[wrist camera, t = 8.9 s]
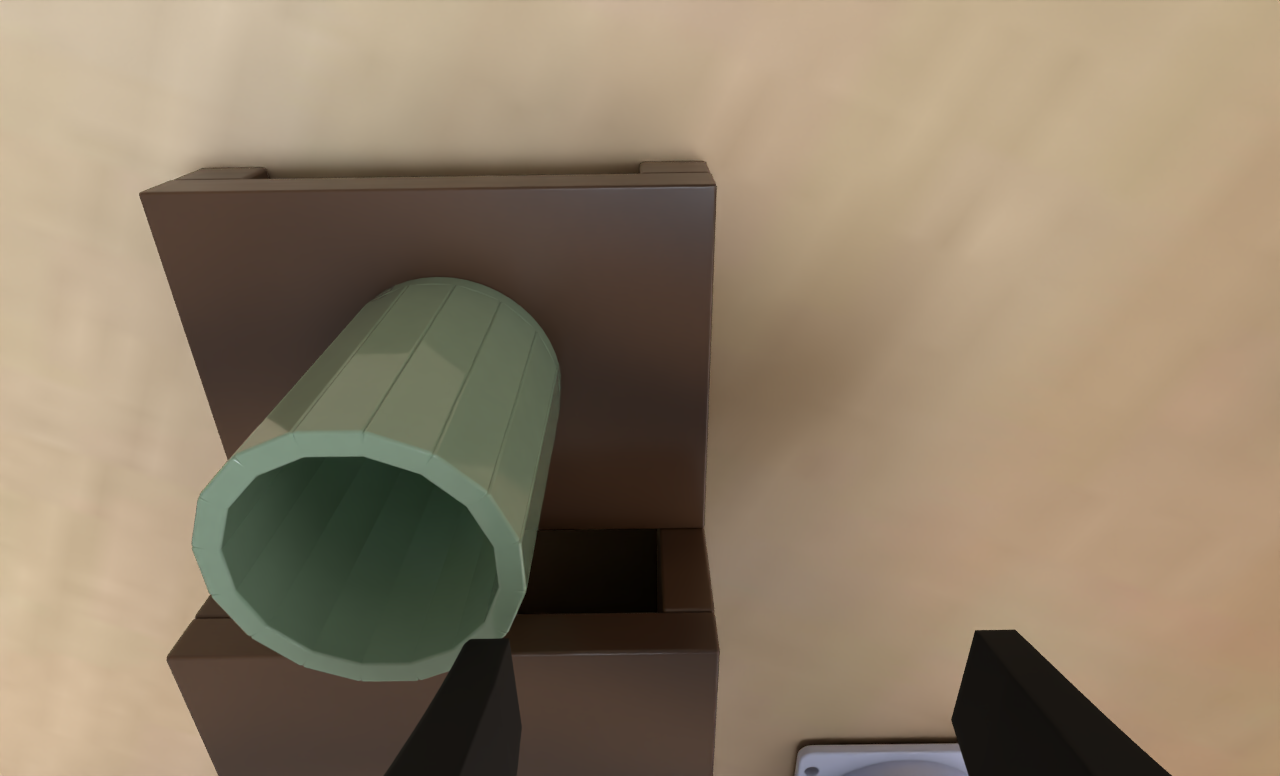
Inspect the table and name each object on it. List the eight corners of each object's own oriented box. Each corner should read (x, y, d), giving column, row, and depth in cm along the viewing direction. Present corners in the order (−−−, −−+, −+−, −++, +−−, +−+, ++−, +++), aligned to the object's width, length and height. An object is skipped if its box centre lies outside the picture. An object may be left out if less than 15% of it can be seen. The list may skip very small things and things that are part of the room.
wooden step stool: (691, 685, 26) (707, 886, 20) (351, 689, 26) (268, 890, 20) (707, 160, 17) (743, 243, 11) (200, 167, 17) (-21, 253, 12)
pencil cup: (568, 467, 18) (536, 681, 13) (365, 470, 18) (243, 684, 13) (553, 274, 16) (508, 429, 10) (320, 277, 16) (145, 434, 10)
